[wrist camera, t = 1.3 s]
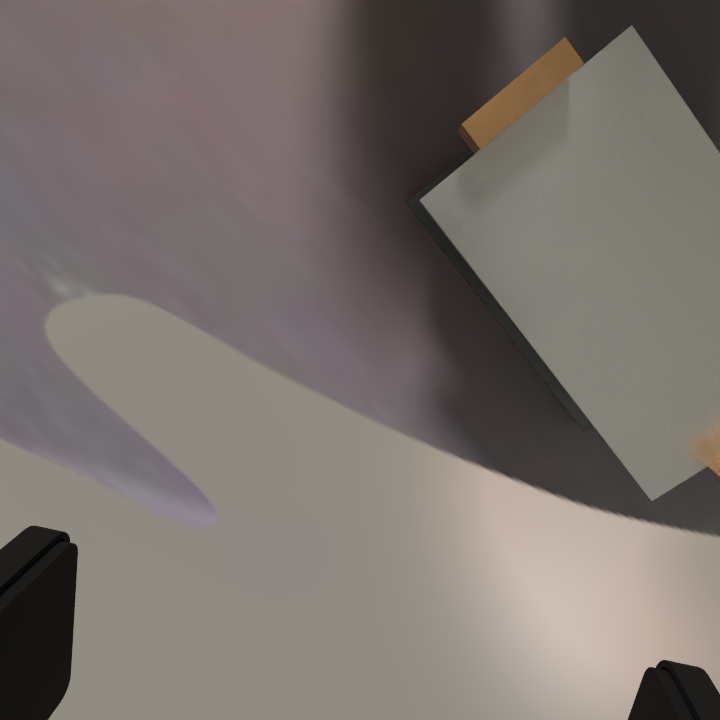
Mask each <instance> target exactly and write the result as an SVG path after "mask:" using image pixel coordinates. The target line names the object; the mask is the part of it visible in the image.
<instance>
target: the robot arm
mask: <svg viewBox="0 0 720 720" xmlns="http://www.w3.org/2000/svg"><path fill="white" fill-rule="evenodd" d="M77 557H78V549H77V546H76V544H73V543H70V538H69V535H68V534H67V533H66V532H62V531H57V530H53V529H48V528H43V527H39V526H30V527H28V528H26V529H25V530H24V531H22V532H21V533H20V534H19V535H18V536H16V537H15V538H14V539H13V540H12V541H10V542H9V543H8V544H7V545H5V546H4V547H3V548H2V549H1V550H0V720H48V719H49V717H50V716H51V714H52V713H53V712H54V710H55V709H56V708H57V706H58V705H59V703H60V702H61V700H62V699H63V697H64V695H65V693H66V690H67V688H68V685H69V681H70V676H71V660H72V644H73V626H74V609H75V608H74V607H75V592H76V573H77ZM628 720H720V694H719V692H718V691H717V689H716V687H715V686H714V684H713V682H712V681H711V679H710V677H709V676H708V674H707V673H706V672H705V671H704V670H703V669H701V668H699V667H695V666H690V665H686V664H681V663H676V662H672V661H667V660H663V661H660V662H659V663H658V665H657V666H656V668H653V667H650V668H648V669H647V670H646V671H645V673H644V676H643V678H642V681H641V684H640V687H639V690H638V693H637V695H636V698H635V701H634V704H633V707H632V709H631V712H630V715H629V718H628Z"/></svg>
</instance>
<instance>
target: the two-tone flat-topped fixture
mask: <svg viewBox="0 0 720 720" xmlns="http://www.w3.org/2000/svg"><path fill="white" fill-rule="evenodd" d="M583 64H584V62H583V61H582V60H581V58H580V57H579V55H578V54H577V53H576V51H575V50H574V48H573V47H572V45H571V44H570V43H569V41H568V40H567V38H566V37H564V38H563V39H562V40H561V41H560V42H558V43H557V44H556V45H555V46H554V47H552V48H551V49H550V50H549V51H548V52H547V53H545V54H544V55H543V56H542V57H541V58H539V59H538V60H537V61H536V62H535V63H533V64H532V65H531V66H530V67H529V68H528V69H526V70H525V71H524V72H523V73H522V74H520V75H519V76H518V77H517V78H516V79H514V80H513V81H512V82H511V83H510V84H509V85H507V86H506V87H505V88H504V89H503V90H501V91H500V92H499V93H498V94H497V95H495V96H494V97H493V98H492V99H491V100H490V101H488V102H487V103H486V104H485V105H484V106H482V107H481V108H480V109H479V110H478V111H476V112H475V113H474V114H473V115H472V116H471V117H469V118H468V119H467V120H466V121H465V122H463V123H462V124H461V126H460V128H459V130H458V133H459V134H460V135H461V137H462V138H463V139H464V141H465V142H466V143H467V145H468V146H469V147H470V150H468V151H467V152H466V153H465V154H464V155H462V156H461V157H460V158H459V159H458V160H456V161H455V162H454V163H453V164H452V165H450V166H449V167H448V168H447V169H445V170H444V171H443V172H442V173H441V174H439V175H438V176H437V177H436V178H435V179H433V180H432V181H431V182H430V183H429V184H427V185H426V186H425V187H424V188H423V189H421V190H420V191H419V192H418V193H416V194H415V195H414V196H413V197H412V198H410V199H409V200H408V201H407V202H406V203H407V204H408V206H409V207H410V208H411V209H412V211H413V212H414V213H415V215H416V216H417V217H418V218H419V220H420V221H421V222H422V224H423V225H424V226H425V228H426V229H427V230H428V231H429V233H430V234H431V235H432V237H433V238H434V239H435V240H436V242H437V243H438V244H439V246H440V247H441V248H442V249H443V251H444V252H445V253H446V255H447V256H448V257H449V259H450V260H451V261H452V262H453V264H454V265H455V266H456V268H457V269H458V270H459V271H460V273H461V274H462V275H463V277H464V278H465V279H466V280H467V282H468V283H469V284H470V286H471V287H472V288H473V289H474V291H475V292H476V293H477V295H478V296H479V297H480V299H481V300H482V301H483V302H484V304H485V305H486V306H487V308H488V309H489V310H490V311H491V313H492V314H493V315H494V317H495V318H496V319H497V320H498V322H499V323H500V324H501V326H502V327H503V328H504V330H505V331H506V332H507V333H508V335H509V336H510V337H511V339H512V340H513V341H514V342H515V344H516V345H517V346H518V348H519V349H520V350H521V351H522V353H523V354H524V355H525V357H526V358H527V359H528V361H529V362H530V363H531V364H532V366H533V367H534V368H535V370H536V371H537V372H538V373H539V375H540V376H541V377H542V379H543V380H544V381H545V382H546V384H547V385H548V386H549V388H550V389H551V390H552V392H553V393H554V394H555V395H556V397H557V398H558V399H559V401H560V402H561V403H562V404H563V406H564V407H565V408H566V410H567V411H568V412H569V413H570V415H571V416H572V417H573V419H574V420H575V421H576V422H577V424H578V425H579V426H580V428H581V429H582V430H583V431H585V430H586V429H588V428H589V427H591V426H592V427H593V428H594V429H595V431H596V432H597V433H598V435H599V436H600V437H601V438H602V440H603V441H604V442H605V443H606V444H607V445H608V446H609V447H610V448H611V450H612V451H613V452H614V453H615V455H616V456H617V457H618V459H619V460H620V461H621V463H622V464H623V465H624V466H625V468H626V469H627V470H628V472H629V473H630V474H631V476H632V477H633V478H634V479H635V481H636V482H637V483H638V485H639V486H640V487H641V488H642V490H643V491H644V492H645V494H646V495H647V496H648V497H649V498H650V500H651V501H653V500H655V499H656V498H658V497H660V496H661V495H663V494H664V493H666V492H667V491H669V490H671V489H672V488H674V487H675V486H677V485H679V484H680V483H682V482H683V481H685V480H687V479H688V478H690V477H691V476H693V475H695V474H696V473H698V472H699V471H701V470H703V469H704V468H706V467H707V466H708V467H709V468H710V470H711V471H712V472H713V474H714V475H715V476H716V478H717V479H718V480H719V482H720V153H719V151H718V150H717V148H716V147H715V145H714V144H713V142H712V141H711V140H710V138H709V137H708V135H707V134H706V132H705V131H704V129H703V128H702V126H701V125H700V123H699V122H698V121H697V119H696V118H695V116H694V115H693V113H692V112H691V110H690V109H689V107H688V106H687V105H686V103H685V102H684V100H683V99H682V97H681V96H680V94H679V93H678V91H677V90H676V89H675V87H674V86H673V84H672V83H671V81H670V80H669V78H668V77H667V75H666V74H665V73H664V71H663V70H662V68H661V67H660V65H659V64H658V62H657V61H656V59H655V58H654V57H653V55H652V54H651V52H650V51H649V49H648V48H647V46H646V45H645V43H644V42H643V41H642V39H641V38H640V36H639V35H638V33H637V32H636V30H635V29H634V27H633V26H632V25H631V26H630V27H629V28H628V29H626V30H625V31H624V32H623V33H622V34H620V35H619V36H618V37H617V38H616V39H614V40H613V41H612V42H611V43H609V44H608V45H607V46H606V47H605V48H603V49H602V50H601V51H600V52H599V53H597V54H596V55H595V56H594V57H592V58H591V59H590V60H589V61H588V62H586V63H585V64H584V65H583ZM582 65H583V66H582ZM580 66H582V67H580ZM579 67H580V68H579ZM578 68H579V69H578ZM577 69H578V70H577ZM576 70H577V71H576Z"/></svg>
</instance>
